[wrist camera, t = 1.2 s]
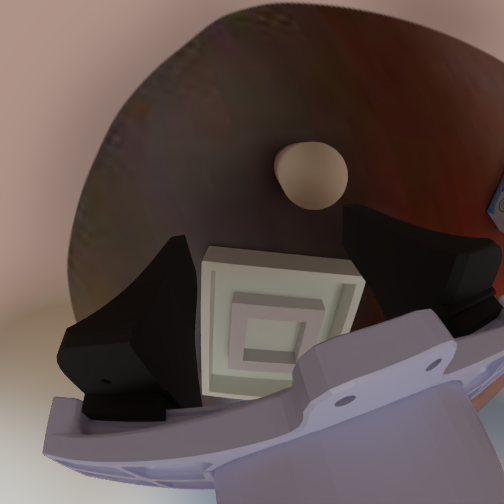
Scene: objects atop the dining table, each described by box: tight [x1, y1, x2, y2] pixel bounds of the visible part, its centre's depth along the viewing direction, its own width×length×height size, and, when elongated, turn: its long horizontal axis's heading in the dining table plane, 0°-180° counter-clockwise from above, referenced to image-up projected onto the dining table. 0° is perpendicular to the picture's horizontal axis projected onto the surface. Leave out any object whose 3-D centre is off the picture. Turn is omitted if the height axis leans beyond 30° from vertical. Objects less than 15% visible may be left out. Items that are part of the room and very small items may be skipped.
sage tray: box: [201, 246, 365, 400], centre depth 27 cm, size 14×17×4 cm
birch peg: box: [273, 142, 348, 210], centre depth 19 cm, size 4×4×8 cm
